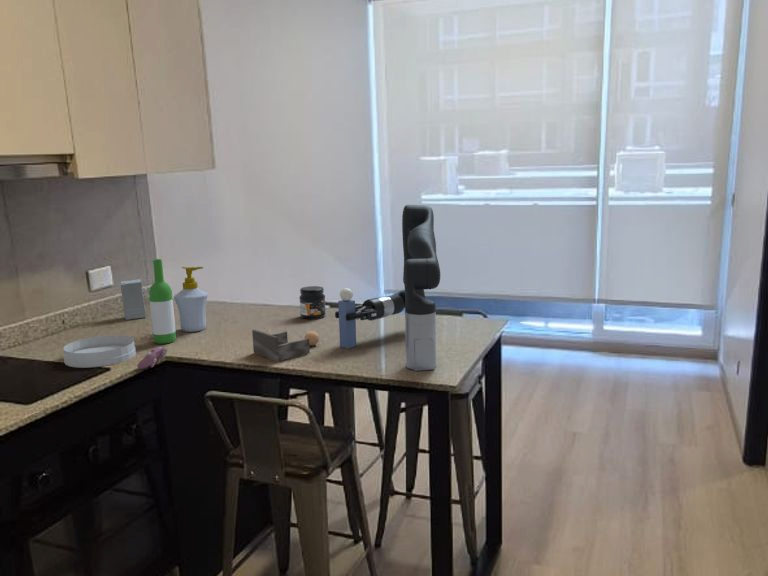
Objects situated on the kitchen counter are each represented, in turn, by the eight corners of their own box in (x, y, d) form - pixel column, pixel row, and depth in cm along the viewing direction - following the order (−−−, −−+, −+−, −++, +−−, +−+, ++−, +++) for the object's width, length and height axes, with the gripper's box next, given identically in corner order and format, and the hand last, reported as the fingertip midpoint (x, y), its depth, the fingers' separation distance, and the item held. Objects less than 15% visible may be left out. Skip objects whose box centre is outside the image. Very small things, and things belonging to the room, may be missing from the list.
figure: (349, 343, 223) (347, 286, 219) (357, 346, 220) (355, 287, 216) (339, 346, 220) (336, 288, 216) (347, 348, 217) (345, 289, 213)
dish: (72, 352, 223) (70, 338, 222) (139, 346, 228) (138, 332, 227) (57, 371, 201) (55, 356, 200) (131, 364, 207) (130, 349, 206)
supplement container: (298, 320, 259) (297, 291, 257) (301, 314, 270) (300, 286, 267) (324, 319, 259) (323, 290, 257) (326, 313, 270) (325, 285, 267)
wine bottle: (151, 345, 228) (142, 261, 222) (157, 339, 235) (149, 258, 230) (173, 344, 228) (165, 260, 223) (178, 338, 236) (171, 257, 230)
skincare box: (144, 314, 276) (141, 278, 273) (146, 318, 269) (142, 281, 266) (123, 317, 272) (120, 280, 269) (124, 320, 266) (120, 283, 263)
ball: (320, 346, 220) (319, 332, 219) (305, 348, 219) (304, 333, 218) (318, 343, 225) (317, 329, 224) (304, 344, 224) (303, 330, 223)
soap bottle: (204, 333, 242) (199, 269, 237) (171, 334, 242) (165, 269, 237) (214, 325, 254) (210, 263, 249) (183, 325, 255) (177, 264, 250)
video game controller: (147, 375, 200) (155, 356, 198) (135, 368, 200) (142, 349, 198) (164, 365, 209) (171, 347, 208) (152, 359, 210) (159, 340, 208)
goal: (286, 345, 223) (284, 322, 222) (309, 353, 213) (308, 329, 212) (253, 353, 215) (252, 330, 213) (276, 361, 205) (275, 337, 203)
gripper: (364, 295, 232) (327, 302, 221) (391, 300, 222) (354, 308, 210) (365, 315, 233) (328, 323, 222) (392, 321, 223) (354, 330, 212)
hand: (341, 316), depth 216 cm, fingers open, 5 cm apart
